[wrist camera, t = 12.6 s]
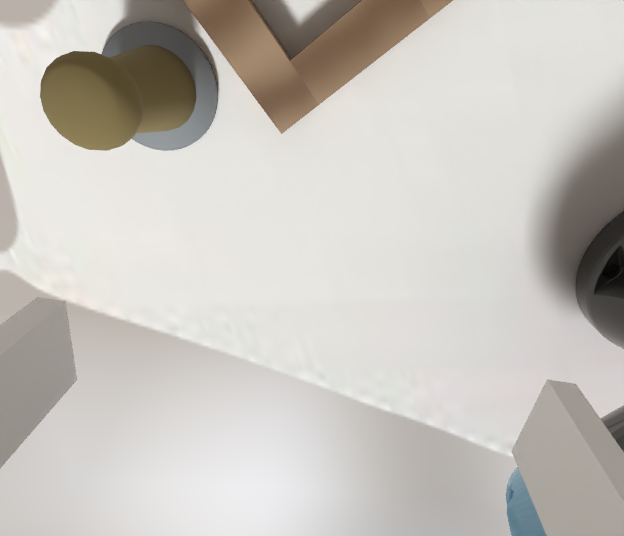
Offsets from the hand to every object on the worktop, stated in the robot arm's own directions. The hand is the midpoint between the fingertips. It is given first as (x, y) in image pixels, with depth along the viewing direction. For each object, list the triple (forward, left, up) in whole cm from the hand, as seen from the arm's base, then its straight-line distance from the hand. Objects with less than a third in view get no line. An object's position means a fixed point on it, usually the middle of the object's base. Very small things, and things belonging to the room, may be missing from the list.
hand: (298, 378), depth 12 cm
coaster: (+12, +7, -25) cm, 29 cm away
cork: (+12, +7, -25) cm, 29 cm away
